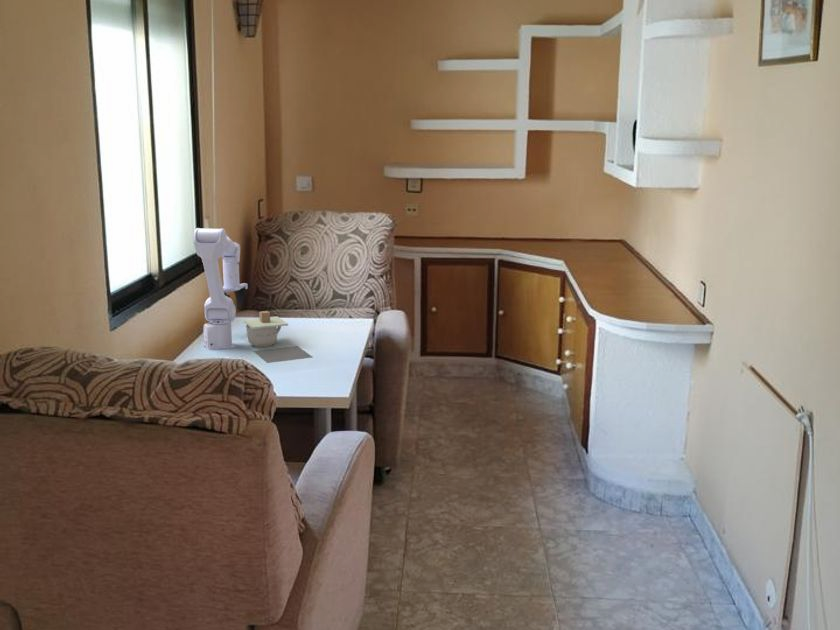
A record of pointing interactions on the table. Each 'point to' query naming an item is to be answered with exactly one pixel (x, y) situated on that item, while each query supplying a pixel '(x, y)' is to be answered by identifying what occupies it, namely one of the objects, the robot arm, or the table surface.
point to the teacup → (262, 336)
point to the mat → (282, 354)
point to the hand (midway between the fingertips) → (232, 310)
